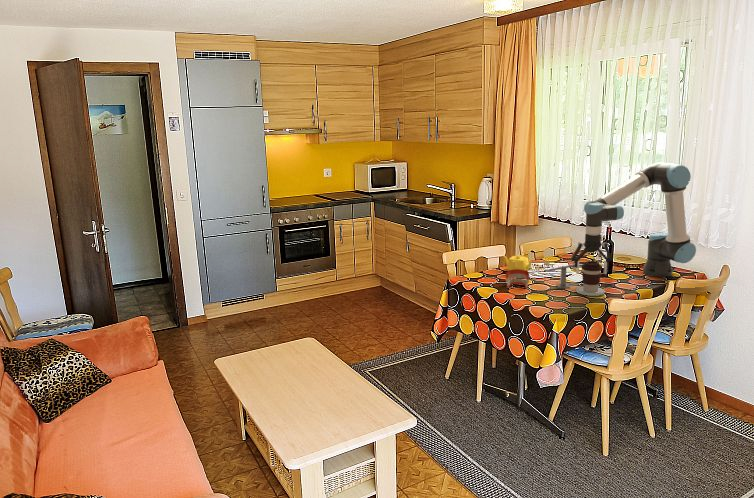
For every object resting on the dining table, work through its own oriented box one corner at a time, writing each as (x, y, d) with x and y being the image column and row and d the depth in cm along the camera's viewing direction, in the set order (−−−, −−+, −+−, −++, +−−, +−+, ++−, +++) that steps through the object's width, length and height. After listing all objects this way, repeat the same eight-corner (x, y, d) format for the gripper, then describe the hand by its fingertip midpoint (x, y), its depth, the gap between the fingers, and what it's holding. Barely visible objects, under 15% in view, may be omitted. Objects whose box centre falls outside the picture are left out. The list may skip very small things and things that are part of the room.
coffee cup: (602, 293, 285) (604, 265, 282) (582, 293, 287) (583, 265, 284) (598, 287, 295) (600, 260, 291) (579, 287, 297) (580, 260, 293)
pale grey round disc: (600, 288, 297) (601, 286, 297) (607, 297, 284) (607, 294, 283) (573, 288, 299) (573, 286, 299) (578, 296, 286) (579, 294, 285)
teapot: (535, 273, 328) (535, 257, 326) (513, 275, 325) (513, 259, 323) (523, 266, 342) (523, 251, 340) (501, 269, 339) (502, 254, 337)
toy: (530, 283, 311) (530, 269, 309) (528, 289, 301) (529, 275, 299) (507, 282, 315) (507, 268, 313) (505, 287, 305) (505, 273, 303)
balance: (581, 284, 304) (582, 261, 301) (583, 288, 298) (585, 264, 295) (542, 284, 307) (543, 261, 304) (544, 288, 301) (544, 264, 298)
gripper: (617, 231, 285) (614, 271, 290) (566, 232, 289) (564, 271, 294) (621, 235, 278) (618, 275, 283) (569, 235, 282) (567, 275, 287)
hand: (591, 273), depth 289 cm, fingers open, 13 cm apart
